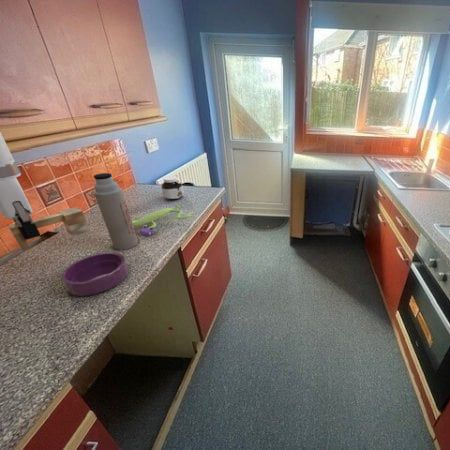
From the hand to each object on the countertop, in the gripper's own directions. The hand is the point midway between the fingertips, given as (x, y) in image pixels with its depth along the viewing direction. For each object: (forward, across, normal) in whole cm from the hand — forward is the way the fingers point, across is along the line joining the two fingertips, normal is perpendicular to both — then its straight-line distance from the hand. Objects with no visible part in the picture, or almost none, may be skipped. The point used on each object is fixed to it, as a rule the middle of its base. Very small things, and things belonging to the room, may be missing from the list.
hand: (31, 235), depth 69 cm
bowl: (+17, +9, +8) cm, 21 cm away
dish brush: (+3, 0, +5) cm, 6 cm away
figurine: (+17, -11, +42) cm, 46 cm away
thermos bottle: (+17, -6, +23) cm, 29 cm away
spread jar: (+17, -36, +63) cm, 75 cm away
